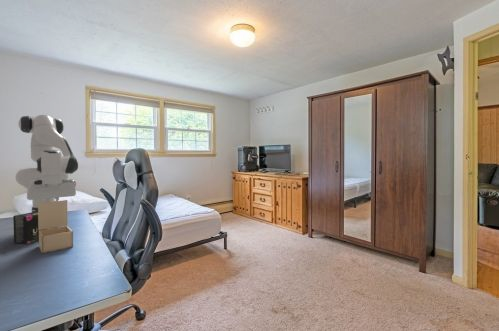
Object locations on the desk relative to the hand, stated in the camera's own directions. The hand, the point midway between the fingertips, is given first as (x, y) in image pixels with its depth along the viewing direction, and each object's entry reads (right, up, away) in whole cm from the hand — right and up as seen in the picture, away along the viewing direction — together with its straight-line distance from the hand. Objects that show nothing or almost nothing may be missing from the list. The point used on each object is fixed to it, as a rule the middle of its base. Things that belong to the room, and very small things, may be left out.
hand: (52, 206), depth 129 cm
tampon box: (-15, -20, +4) cm, 25 cm away
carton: (+6, -20, -5) cm, 21 cm away
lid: (+1, -4, -1) cm, 5 cm away
